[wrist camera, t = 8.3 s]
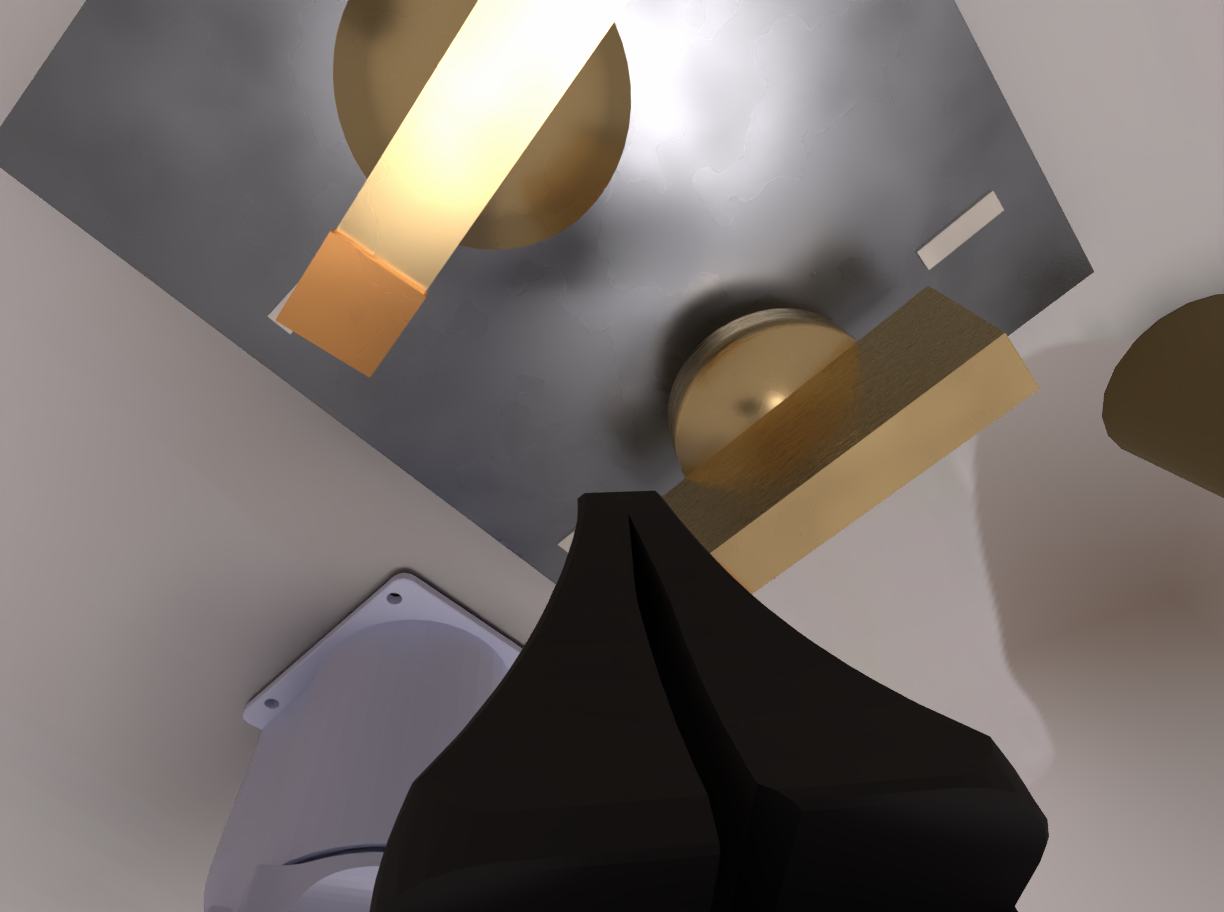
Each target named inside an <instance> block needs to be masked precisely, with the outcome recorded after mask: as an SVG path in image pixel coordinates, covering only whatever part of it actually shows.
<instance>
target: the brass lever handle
mask: <svg viewBox="0 0 1224 912" xmlns="http://www.w3.org/2000/svg"><path fill="white" fill-rule="evenodd" d="M628 1H629V0H348V2H347V4H346V7H345V9H344V11H343V14H342V18H341V21H340V24H339V27H338V31H337V36H336V42H335V48H334V54H333V86H334V97H335V103H336V107H337V112H338V117H339V121H340V124H341V127H342V130H343V133H344V136H345V139H346V142H347V144H348V146H349V148H350V150H351V152H352V155H353V157H354V159H355V161H356V162H357V164H358V166H359V167H360V169H361V171H362V172H363V174H364V176H365V177H366V179H367V181H366V182H365V184H364V185H363V187H362V189H361V190H360V192H359V193H358V195H357V197H356V198H355V200H354V202H353V203H352V205H351V206H350V208H349V210H348V211H347V213H346V214H345V216H344V218H343V219H342V221H341V222H340V224H339V226H338V227H337V229H334V228H333V229H332V230H331V231H330V232H329V234H328V236H327V237H326V239H325V240H324V242H323V244H322V245H321V247H320V248H319V250H318V252H317V253H316V255H315V257H314V258H313V260H312V261H311V263H310V265H309V266H308V268H307V270H306V271H305V273H304V274H303V276H302V278H301V279H300V281H299V282H298V284H297V286H296V287H295V289H294V291H293V292H292V294H291V295H290V297H289V299H288V300H287V302H286V303H285V305H284V307H283V308H282V310H281V312H280V313H279V315H278V316H277V318H276V320H275V321H277V322H279V323H280V324H282V325H284V326H285V327H287V328H289V329H290V330H292V331H294V332H295V333H297V334H298V335H300V336H302V337H303V338H305V339H307V340H308V341H310V342H312V343H313V344H315V345H317V346H318V347H320V348H321V349H323V350H325V351H326V352H328V353H330V354H331V355H333V356H335V357H336V358H338V359H340V360H341V361H343V362H345V363H346V364H348V365H349V366H351V367H353V368H354V369H356V370H358V371H359V372H361V373H363V374H364V375H366V376H368V377H369V378H370V377H371V376H372V374H373V373H374V371H375V370H376V368H377V367H378V366H379V364H380V363H381V361H382V360H383V358H384V357H385V356H386V354H387V353H388V351H389V350H390V348H391V347H392V346H393V344H394V343H395V341H396V340H397V339H398V337H399V336H400V334H401V333H402V331H403V330H404V329H405V327H406V326H407V324H408V323H409V321H410V320H411V319H412V317H413V316H414V314H415V313H416V311H417V310H418V309H419V307H420V306H421V304H422V303H423V301H424V300H425V299H426V297H427V295H428V292H426V290H427V289H428V288H429V286H430V285H431V283H432V282H433V280H434V279H435V278H436V276H437V275H438V273H439V272H440V270H441V269H442V268H443V266H444V265H445V263H446V262H447V260H448V259H449V258H450V256H451V255H452V253H453V252H454V250H455V249H456V247H457V246H458V245H460V246H465V247H470V248H475V249H486V250H503V249H514V248H519V247H524V246H529V245H532V244H535V243H538V242H540V241H543V240H546V239H548V238H550V237H552V236H554V235H556V234H558V233H560V232H561V231H563V230H564V229H566V228H567V227H569V226H570V225H572V224H573V223H575V222H576V221H577V220H578V219H579V218H580V217H581V216H583V215H584V214H585V213H586V212H587V211H588V210H589V209H590V208H591V207H592V205H593V204H594V203H595V202H596V201H597V200H598V199H599V197H600V196H601V194H602V193H603V191H604V190H605V188H606V187H607V185H608V184H609V182H610V181H611V179H612V176H613V174H614V172H615V170H616V168H617V166H618V164H619V161H620V159H621V156H622V153H623V150H624V147H625V143H626V139H627V134H628V130H629V123H630V113H631V83H630V76H629V68H628V62H627V58H626V54H625V50H624V47H623V43H622V40H621V37H620V35H619V32H618V30H617V27H616V24H615V22H614V21H615V20H616V18H617V17H618V15H619V14H620V13H621V11H622V10H623V8H624V7H625V5H626V4H627V3H628Z"/></svg>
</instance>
